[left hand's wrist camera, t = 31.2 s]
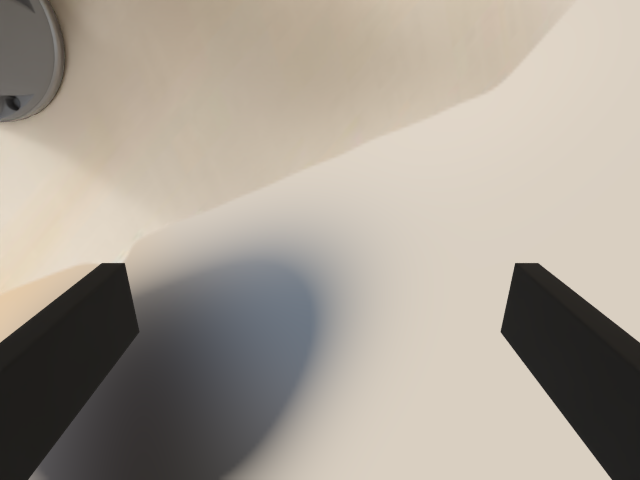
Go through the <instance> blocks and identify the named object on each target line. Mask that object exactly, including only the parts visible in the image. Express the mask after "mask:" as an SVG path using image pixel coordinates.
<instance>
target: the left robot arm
mask: <svg viewBox="0 0 640 480" xmlns="http://www.w3.org/2000/svg"><path fill="white" fill-rule="evenodd" d="M64 65H65V50H64V42H63V36H62V32H61V29H60V25H59V22H58V20H57V17H56V14H55V12H54V10H53V8H52V6H51V4H50V2H49V0H0V122H7V121H16V120H21V119H25V118H28V117H30V116H33V115H35V114H36V113H38V112H40V111H41V110H42V109H43V108H45V107H46V106H47V105H48V104H49V103H50V102H51V100H52V99H53V98H54V96H55V94H56V93H57V91H58V89H59V86H60V84H61V81H62V77H63V73H64ZM138 333H139V328H138V323H137V319H136V314H135V309H134V305H133V300H132V295H131V290H130V286H129V281H128V276H127V272H126V267H125V263H102V264H100V265H99V266H98V267H96V268H95V269H94V270H93V271H91V272H90V273H89V274H88V275H86V276H85V277H84V278H82V279H81V280H80V281H79V282H77V283H76V284H75V285H73V286H72V287H71V288H70V289H68V290H67V291H66V292H65V293H63V294H62V295H61V296H59V297H58V298H57V299H56V300H54V301H53V302H52V303H50V304H49V305H48V306H47V307H45V308H44V309H43V310H42V311H40V312H39V313H38V314H36V315H35V316H34V317H33V318H31V319H30V320H29V321H28V322H26V323H25V324H24V325H22V326H21V327H20V328H18V329H17V330H16V331H15V332H13V333H12V334H11V335H10V336H8V337H7V338H6V339H4V340H3V341H2V342H1V343H0V480H28V479H29V478H30V476H31V475H32V474H33V472H34V471H35V470H36V468H37V467H38V466H39V464H40V463H41V462H42V460H43V459H44V458H45V456H46V455H47V454H48V452H49V451H50V450H51V449H52V447H53V446H54V445H55V443H56V442H57V441H58V439H59V438H60V437H61V435H62V434H63V433H64V431H65V430H66V429H67V427H68V426H69V425H70V423H71V422H72V421H73V419H74V418H75V417H76V415H77V414H78V413H79V411H80V410H81V409H82V407H83V406H84V405H85V403H86V402H87V401H88V399H89V398H90V397H91V395H92V394H93V393H94V391H95V390H96V389H97V387H98V386H99V385H100V383H101V382H102V381H103V380H104V378H105V377H106V375H107V374H108V373H109V372H110V370H111V369H112V368H113V366H114V365H115V364H116V362H117V361H118V360H119V358H120V357H121V356H122V354H123V353H124V352H125V350H126V349H127V348H128V346H129V345H130V344H131V342H132V341H133V340H134V338H135V337H136V336H137V334H138ZM501 333H502V334H503V336H504V337H505V338H506V340H507V341H508V342H509V344H510V345H511V346H512V348H513V349H514V350H515V352H516V353H517V354H518V356H519V357H520V358H521V360H522V361H523V362H524V364H525V365H526V366H527V368H528V369H529V370H530V372H531V373H532V374H533V376H534V377H535V378H536V380H537V381H538V382H539V383H540V385H541V386H542V388H543V389H544V390H545V392H546V393H547V394H548V395H549V397H550V398H551V399H552V401H553V402H554V403H555V405H556V406H557V407H558V409H559V410H560V411H561V413H562V414H563V415H564V417H565V418H566V419H567V421H568V422H569V423H570V425H571V426H572V427H573V429H574V430H575V431H576V433H577V434H578V435H579V437H580V438H581V439H582V441H583V442H584V443H585V444H586V446H587V447H588V448H589V450H590V451H591V452H592V454H593V455H594V456H595V458H596V459H597V460H598V462H599V463H600V464H601V466H602V467H603V468H604V470H605V471H606V472H607V474H608V475H609V476H610V478H611V479H612V480H640V343H639V342H638V341H637V340H636V339H634V338H633V337H632V336H630V335H629V334H628V333H627V332H625V331H624V330H623V329H622V328H620V327H619V326H618V325H616V324H615V323H614V322H613V321H611V320H610V319H609V318H607V317H606V316H605V315H604V314H602V313H601V312H600V311H599V310H597V309H596V308H595V307H593V306H592V305H591V304H590V303H588V302H587V301H586V300H584V299H583V298H582V297H581V296H579V295H578V294H577V293H576V292H574V291H573V290H572V289H570V288H569V287H568V286H567V285H565V284H564V283H563V282H561V281H560V280H559V279H558V278H556V277H555V276H554V275H552V274H551V273H550V272H549V271H547V270H546V269H545V268H544V267H542V266H541V265H540V264H538V263H515V267H514V272H513V276H512V281H511V286H510V291H509V295H508V300H507V305H506V309H505V314H504V319H503V323H502V328H501Z"/></svg>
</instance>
